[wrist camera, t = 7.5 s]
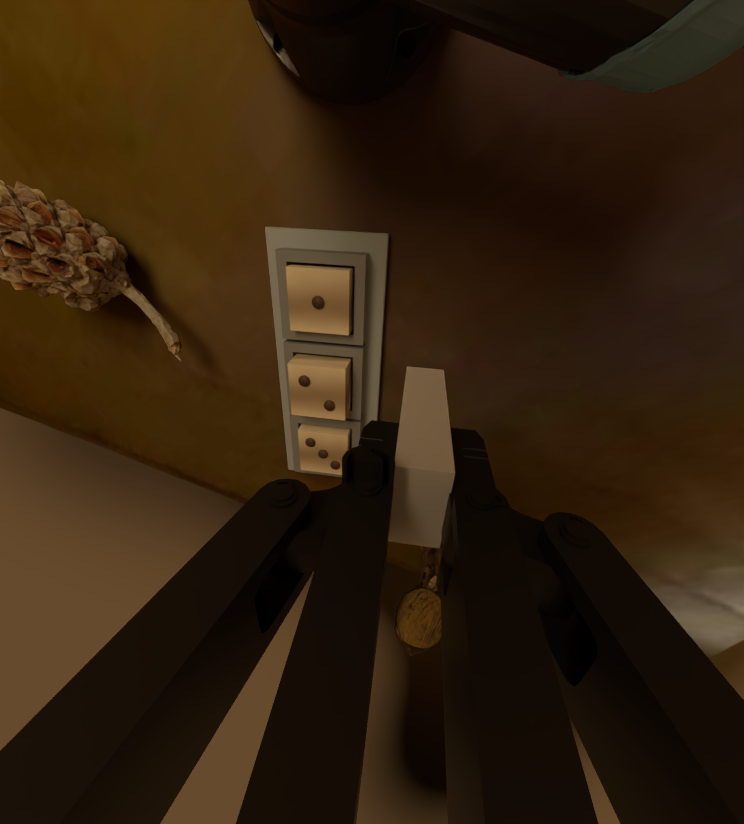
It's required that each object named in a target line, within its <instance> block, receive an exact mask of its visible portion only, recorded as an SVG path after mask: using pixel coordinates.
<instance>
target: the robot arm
mask: <svg viewBox="0 0 744 824" xmlns="http://www.w3.org/2000/svg"><path fill="white" fill-rule="evenodd" d="M248 1H249V4H250V7H251V10H252V13H253V15H254V18H255V20H256V23H257V25H258V27H259V29H260V31H261V33H262V35H263V37H264V39H265V41H266V43H267V44H268V46H269V48H270V49H271V51H272V52H273V54H274V55H275V57H276V58H277V59H278V60H279V62H280V63H281V64H282V65H283V66H284V68H285V69H286V70H287V71H288V72H289V73H290V74H291V75H292V76H293V77H294V78H295V79H296V80H297V81H298V82H299V83H300V84H301V85H302V86H304V87H305V88H306V89H308V90H309V91H310V92H312V93H314V94H315V95H317V96H319V97H321V98H323V99H326V100H328V101H332V102H335V103H341V104H361V103H366V102H370V101H373V100H376V99H378V98H380V97H383V96H384V95H386V94H388V93H390V92H391V91H393V90H394V89H396V88H397V87H398V86H399V85H401V84H402V83H403V82H404V81H405V80H406V79H407V78H408V77H409V76H410V75H411V74H412V73H413V72H414V71H415V70H416V68H417V67H418V66H419V64H420V63H421V62H422V60H423V59H424V57H425V56H426V54H427V53H428V51H429V49H430V48H431V46H432V44H433V42H434V40H435V38H436V36H437V34H438V32H439V29H440V27H441V24H442V25H445V26H448V27H450V28H453V29H455V30H458V31H460V32H463V33H466V34H468V35H471V36H473V37H476V38H479V39H481V40H484V41H486V42H489V43H491V44H494V45H497V46H499V47H502V48H504V49H507V50H510V51H512V52H515V53H517V54H520V55H522V56H525V57H528V58H530V59H533V60H535V61H538V62H541V63H543V64H546V65H548V66H551V67H553V68H556V69H558V72H559V75H560V76H562V77H564V78H566V79H568V80H572V81H583V80H592V81H596V82H599V83H602V84H605V85H608V86H612V87H615V88H618V89H621V90H624V91H628V92H632V93H651V92H655V91H657V90H660V89H662V88H665V87H670V86H672V85H676V84H681V83H683V82H685V81H688V80H690V79H692V78H694V77H696V76H697V75H699V74H701V73H703V72H704V71H706V70H708V69H709V68H711V67H713V66H714V65H716V64H718V63H719V62H721V61H722V60H724V59H725V58H727V57H728V56H730V55H731V54H733V53H734V52H736V51H737V50H738V49H740V48H741V47H743V46H744V0H248ZM441 539H442V556H441V560H440V565H439V570H438V574H437V579H436V584H440V596H441V626H442V656H443V686H444V713H445V715H444V716H445V746H446V773H447V775H446V776H447V806H448V824H598V821H597V817H596V814H595V810H594V807H593V803H592V799H591V796H590V792H589V789H588V785H587V782H586V778H585V774H584V771H583V768H582V764H581V760H580V757H579V753H578V749H577V746H576V742H575V739H574V735H573V732H572V728H571V724H570V721H569V717H568V714H567V711H568V713H569V715H570V717H571V720H572V722H573V724H574V726H575V728H576V730H577V732H578V734H579V736H580V739H581V741H582V743H583V745H584V747H585V749H586V751H587V754H588V756H589V758H590V760H591V762H592V764H593V766H594V768H595V770H596V773H597V775H598V777H599V779H600V781H601V783H602V785H603V787H604V789H605V792H606V794H607V796H608V798H609V800H610V802H611V804H612V807H613V809H614V811H615V813H616V815H617V817H618V819H619V821H620V824H744V700H743V699H742V698H741V697H740V695H739V694H738V693H737V692H736V691H735V689H734V688H733V687H732V686H731V685H730V684H729V682H728V681H727V680H726V679H725V678H724V676H723V675H722V674H721V673H720V672H719V671H718V669H717V668H716V667H715V666H714V664H713V663H712V662H711V661H710V660H709V659H708V657H707V656H706V655H705V654H704V653H703V651H702V650H701V649H700V648H699V647H698V645H697V644H696V643H695V642H694V641H693V640H692V638H691V637H690V636H689V635H688V634H687V632H686V631H685V630H684V629H683V628H682V626H681V625H680V624H679V623H678V622H677V620H676V619H675V618H674V617H673V616H672V615H671V613H670V612H669V611H668V610H667V609H666V607H665V606H664V605H663V604H662V603H661V601H660V600H659V599H658V598H657V597H656V596H655V594H654V593H653V592H652V591H651V590H650V588H649V587H648V586H647V585H646V584H645V582H644V581H643V580H642V579H641V578H640V577H639V575H638V574H637V573H636V572H635V571H634V569H633V568H632V567H631V566H630V565H629V563H628V562H627V561H626V560H625V559H624V557H623V556H622V555H621V554H620V553H619V552H618V550H617V549H616V548H615V547H614V546H613V544H612V543H611V542H610V541H609V540H608V538H607V537H606V536H605V535H604V534H603V533H602V532H601V531H600V530H599V529H598V528H597V527H596V526H595V525H594V524H592V523H591V522H589V521H587V520H586V519H584V518H582V517H579V516H576V515H574V514H571V513H562V512H557V513H553V514H550V515H549V516H548V517H547V518H546V519H545V520H544V522H542V521H539V520H537V519H534V518H531V517H528V516H526V515H523V514H521V513H519V512H516V511H515V510H513V509H512V508H510V507H509V504H508V502H507V500H506V498H505V497H504V496H503V495H502V494H501V493H500V492H499V491H498V490H496V487H495V483H494V479H493V475H492V471H491V467H490V463H489V460H488V455H487V452H486V448H485V444H484V440H483V439H482V437H481V436H480V435H479V434H478V433H477V432H476V431H475V430H466V429H457V428H450V422H449V412H448V403H447V394H446V385H445V376H444V370H440V369H429V368H419V367H408V366H407V370H406V377H405V385H404V393H403V401H402V408H401V416H400V423H392V422H383V421H374V420H371V421H370V422H369V423H368V424H367V425H366V426H364V427H363V430H362V434H361V438H360V440H359V444H358V446H357V447H353V448H351V449H350V450H348V451H346V452H345V454H344V455H343V457H342V484H340V485H338V486H337V487H334V488H331V489H327V490H321V491H312V492H310V490H309V489H308V487H307V486H306V485H305V484H304V483H302V482H300V481H298V480H294V479H279V480H276V481H273V482H270V483H268V484H266V485H265V486H264V487H262V488H261V489H260V490H259V491H258V492H257V493H256V494H255V495H254V496H253V497H252V498H251V499H250V500H249V501H248V502H247V503H246V504H245V505H244V506H243V507H242V508H241V509H240V510H239V511H238V512H237V513H236V514H235V515H234V516H233V517H232V518H231V519H230V520H229V521H228V522H227V523H226V524H225V525H224V526H223V527H222V528H221V529H220V530H219V531H218V532H217V533H216V534H215V535H214V536H213V537H212V538H211V539H210V540H209V541H208V542H207V543H206V544H205V545H204V546H203V547H202V548H201V549H200V550H199V551H198V552H197V553H196V554H195V555H194V556H193V557H192V558H191V559H190V560H189V561H188V562H187V563H186V564H185V565H184V566H183V567H182V569H180V570H179V572H177V573H176V574H175V575H174V576H173V577H172V578H171V579H170V580H169V581H168V582H167V583H166V584H165V586H164V587H163V588H162V589H160V590H159V591H158V593H157V594H156V595H155V596H154V597H153V598H152V599H151V600H150V601H149V602H148V603H147V604H146V605H145V606H144V607H143V608H142V609H141V610H140V611H139V612H138V613H137V614H136V615H135V616H134V617H133V618H132V619H131V620H130V621H129V622H128V623H127V624H126V625H125V626H124V627H123V628H122V629H121V630H120V631H119V632H118V633H117V634H116V635H115V636H114V637H113V638H112V639H111V640H110V641H109V642H108V643H107V644H106V645H105V646H104V647H103V648H102V649H101V650H100V651H99V652H98V653H97V654H96V655H95V656H94V657H93V658H92V659H91V660H90V661H89V662H88V663H87V664H86V665H85V666H84V667H83V668H82V669H81V670H80V671H79V672H78V673H77V674H76V675H75V676H74V677H73V678H72V679H71V680H70V681H69V682H68V683H67V684H66V685H65V686H64V687H63V688H62V689H61V690H60V691H59V692H58V693H57V694H56V695H55V696H54V697H53V698H52V700H50V702H48V703H47V704H46V705H45V706H44V707H43V708H42V709H41V710H40V711H39V712H38V713H37V714H36V715H35V716H34V717H33V718H32V719H31V721H29V723H28V724H26V726H24V728H23V729H22V730H21V731H20V732H19V733H18V734H17V735H16V736H15V737H14V738H13V739H12V740H11V741H10V742H9V743H8V744H7V745H6V746H5V747H4V748H3V749H2V750H1V751H0V824H160V823H161V821H162V820H163V818H164V816H165V815H166V813H167V812H168V809H169V808H170V807H171V805H172V803H173V802H174V799H175V798H176V797H177V795H178V793H179V792H180V790H181V788H182V786H183V785H184V784H185V782H186V780H187V779H188V777H189V775H190V774H191V772H192V770H193V769H194V767H195V765H196V764H197V762H198V760H199V759H200V757H201V756H202V754H203V752H204V751H205V749H206V747H207V745H208V744H209V742H210V741H211V739H212V737H213V736H214V734H215V733H216V731H217V729H218V728H219V726H220V724H221V723H222V721H223V719H224V718H225V716H226V714H227V713H228V711H229V709H230V708H231V706H232V705H233V703H234V701H235V699H236V698H237V696H238V695H239V693H240V691H241V690H242V688H243V686H244V685H245V683H246V682H247V680H248V678H249V677H250V675H251V673H252V672H253V670H254V668H255V667H256V665H257V663H258V662H259V660H260V658H261V657H262V655H263V654H264V652H265V650H266V648H267V647H268V645H269V644H270V642H271V641H272V639H273V637H274V636H275V634H276V632H277V630H278V629H279V627H280V626H281V624H282V622H283V621H284V619H285V617H286V616H287V614H288V613H289V611H290V609H291V608H292V606H293V604H294V603H295V601H296V599H297V598H298V596H299V594H300V593H301V591H302V590H303V588H304V586H305V585H306V583H307V581H308V580H309V578H310V576H311V574H312V572H313V571H314V575H313V578H312V581H311V584H310V587H309V591H308V594H307V597H306V600H305V604H304V607H303V610H302V613H301V616H300V620H299V623H298V626H297V629H296V632H295V636H294V639H293V642H292V645H291V649H290V652H289V655H288V658H287V661H286V665H285V668H284V671H283V674H282V677H281V681H280V684H279V687H278V690H277V694H276V697H275V700H274V703H273V706H272V710H271V713H270V716H269V720H268V722H267V726H266V729H265V732H264V736H263V739H262V742H261V745H260V749H259V751H258V755H257V758H256V761H255V764H254V767H253V771H252V774H251V777H250V781H249V784H248V787H247V790H246V793H245V796H244V800H243V803H242V806H241V809H240V813H239V816H238V819H237V822H236V824H356V819H357V810H358V801H359V793H360V784H361V774H362V767H363V757H364V749H365V740H366V731H367V723H368V714H369V705H370V696H371V688H372V679H373V670H374V661H375V653H376V643H377V635H378V626H379V618H380V609H381V599H382V591H383V582H384V574H385V564H386V556H387V546H388V541H390V542H397V543H404V544H411V545H418V546H425V547H432V548H440V544H441ZM566 709H567V710H566Z"/></svg>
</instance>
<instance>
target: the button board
mask: <svg viewBox="0 0 744 824" xmlns="http://www.w3.org/2000/svg"><path fill="white" fill-rule="evenodd" d="M265 232H266V242H267V252H268V263H269V273H270V284H271V294H272V304H273V315H274V325H275V335H276V346H277V356H278V366H279V377H280V387H281V397H282V408H283V418H284V428H285V439H286V449H287V460H288V469H290V470H294V471H296V472H303V473H311V474H319V475H327V476H335V477H342V475H337V474H329V473H321V472H313V471H305V470H301V467H300V453H299V440H298V429H299V427H300V426H301V424H311V425H320V426H329V427H338V428H346V429H352V448H353V447H357V446H358V444H359V440H360V438H361V434H362V430H363V427H364V426H366V425H367V424H368V423H369V422H370V421H371V420H374V421H378V408H379V392H380V375H381V359H382V343H383V326H384V310H385V294H386V277H387V261H388V244H389V233H373V232H356V231H338V230H320V229H302V228H285V227H265ZM294 263H308V264H323V265H338V266H353V267H355V287H354V328H353V330H352V331H351V333H350V334H349V335H339V334H327V333H315V332H304V331H292V330H290V319H289V305H288V292H287V278H286V266H289V265H291V264H294ZM296 354H307V355H318V356H328V357H339V358H350V359H351V399H350V410H349V412H348V415H347V417H346V420H345V421H344V420H335V419H326V418H317V417H308V416H299V415H292V413H291V401H290V389H289V377H288V365H287V364H288V363H289V362H290V360H291V359H292V358H293V357H294V356H295V355H296Z"/></svg>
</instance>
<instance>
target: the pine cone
mask: <svg viewBox="0 0 744 824" xmlns="http://www.w3.org/2000/svg"><path fill="white" fill-rule="evenodd" d="M127 256H128V254H127V251H126V249H125V247H124V246H123V245H121V244H119V243H118V242H117V240H116V239H115V238H112V237H109V233H108V232H107V231H106V229H105V228H104V227H102V226H100V225H99V224H97V223H93V222H92V221H91V220H88V219H83V218H82V217H81V215H80V214H79V213H78V211H77V210H76V209H74V208H72V207H71V206H70V205H68V204H67V203H66V202H65V201H64V200H58V199H57V200H56V201H48V200H47V199H46V197H45V195H44V194H43V193H42V192H41V191H40V190H39V189H30V188H29V187H28V186H26V185H24V184H22V183H20V182H18V181H17V182H16V185H15V188H12V187H10V186H8V185H7V186H6V185H5V183H4V182H3V181H2V180H0V278H2V279H4V280H8V281H11V283H12V285H13V287H14V289H15V290H34V291H35V292H36V293H37V294H38V295H40V296H41V297H47V296H49V295H51V294H52V295H55V296H58V295H60V296H62V297H63V298H64V300H65V304H69V305H70V306H71V307H80V308H82V309H84V310H86V311H96V310H99V308H100V306H101V305H103V304H104V303H107V302H108V301H109V300H110V298H113V297H116V296H117V295H121V294H124V295H125V296H127V297H128V298H129V299H131V300H132V301H133V302H135V303H136V304H137V305H138V306H139V307H140V308H141V309H142V310H143V312H144V313H145V314H146V315H147V316H148V317H149V318H150V319H151V321H152V323H153V324H154V325H155V326H156V327H157V329H158V330H159V332H160V333H161V335H162V337H163V338H164V340H165V342H166V344H167V346H168V349H169V351H171V352H172V353H173V354H174V355H175V356H176V357H177V358H178V359H179V360H180V357H179V353H180V351H181V347H182V345H181V342H180V339H179V338H178V336H177V334H176V332H175V331H174V329H173V328H172V327H171V326H170V324H169V323H168V322H167V321H166V319H165V318H164V317H163V316H162V315H161V314H160V313H159V312H158V311H157V309H156V308H155V307H154V306H153V305H152V304H151V303H150V302H149V301H148V300H147V299H146V298H145V297H144V295H143V294H142V293H141V292H140V291H138V290H137V289H136V287H135V286H133V285H132V284H131V278H129V274H128V273H127V272H126V267H125V263H126V261H127V260H128V257H127ZM180 361H181V360H180Z"/></svg>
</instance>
